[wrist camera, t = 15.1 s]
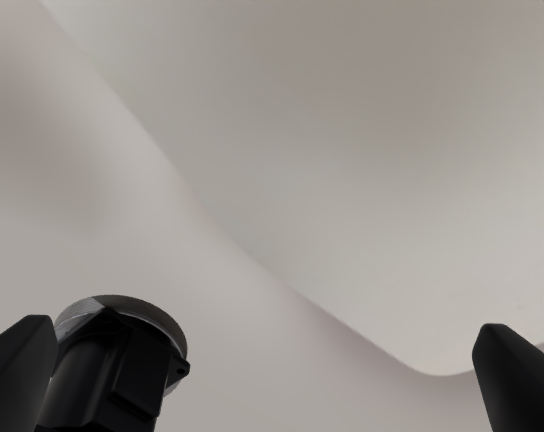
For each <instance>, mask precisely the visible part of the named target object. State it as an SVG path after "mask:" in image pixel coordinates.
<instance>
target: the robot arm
mask: <svg viewBox="0 0 544 432" xmlns="http://www.w3.org/2000/svg"><path fill="white" fill-rule="evenodd" d="M106 316H109V317H106ZM472 361H473V365H474V368H475V372H476V375H477V379H478V382H479V385H480V389H481V393H482V396H483V400H484V403H485V407H486V411H487V414H488V417H489V421H490V424H491V427H492V430H493V432H544V353H543V352H542V351H540V350H539V349H538V348H536V347H535V346H534V345H532V344H531V343H530V342H528V341H527V340H526V339H524V338H523V337H521V336H520V335H519V334H517V333H516V332H515V331H513V330H512V329H511V328H509V327H508V326H506V325H504V324H493V323H487V324H484V325H483V326H482V327H481V329H480V332H479V335H478V337H477V340H476V342H475V345H474V348H473V351H472ZM181 368H182V369H181ZM189 371H190V364H189V363H188V362H187V361H186V360H185V359H183V358H182V357H180V356H179V355H177V354H176V353H175V352H173V351H172V350H170V349H169V348H168V347H166V346H165V345H163V344H162V343H161V342H159V341H158V340H156V339H155V338H154V337H152V336H151V335H149V334H148V333H147V332H145V331H144V330H142V329H141V328H140V327H138V326H137V325H135V324H134V323H133V322H131V321H130V320H128V319H127V318H126V317H124V316H123V315H121V314H120V313H119V312H117V311H116V310H114V309H112V308H110V307H103V308H101V309H99V310H98V311H97V312H96V313H94V314H93V315H92V316H90V317H89V318H88V319H87V320H85V321H84V322H83V323H81V324H80V325H79V326H78V327H76V328H75V329H74V330H72V331H71V332H70V333H69V334H67V335H66V336H65V337H63V338H62V339H61V340H60V341H57V337H56V334H55V330H54V326H53V323H52V320H51V318H50V317H49V316H48V315H27V316H25V317H24V318H23V319H21V320H20V321H18V322H17V323H15V324H14V325H13V326H11V327H10V328H8V329H7V330H6V331H4V332H3V333H1V334H0V432H154V428H155V424H156V420H157V417H158V416H159V415H160V411H161V406H162V401H163V397H164V392H165V389H167V388H168V387H170V386H171V385H173V384H175V383H176V382H178V381H179V380H181V379H182V378H184V377H185V376H187V375H188V374H189ZM51 377H52V379H51V381H50V378H51ZM49 381H50V383H49Z"/></svg>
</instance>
